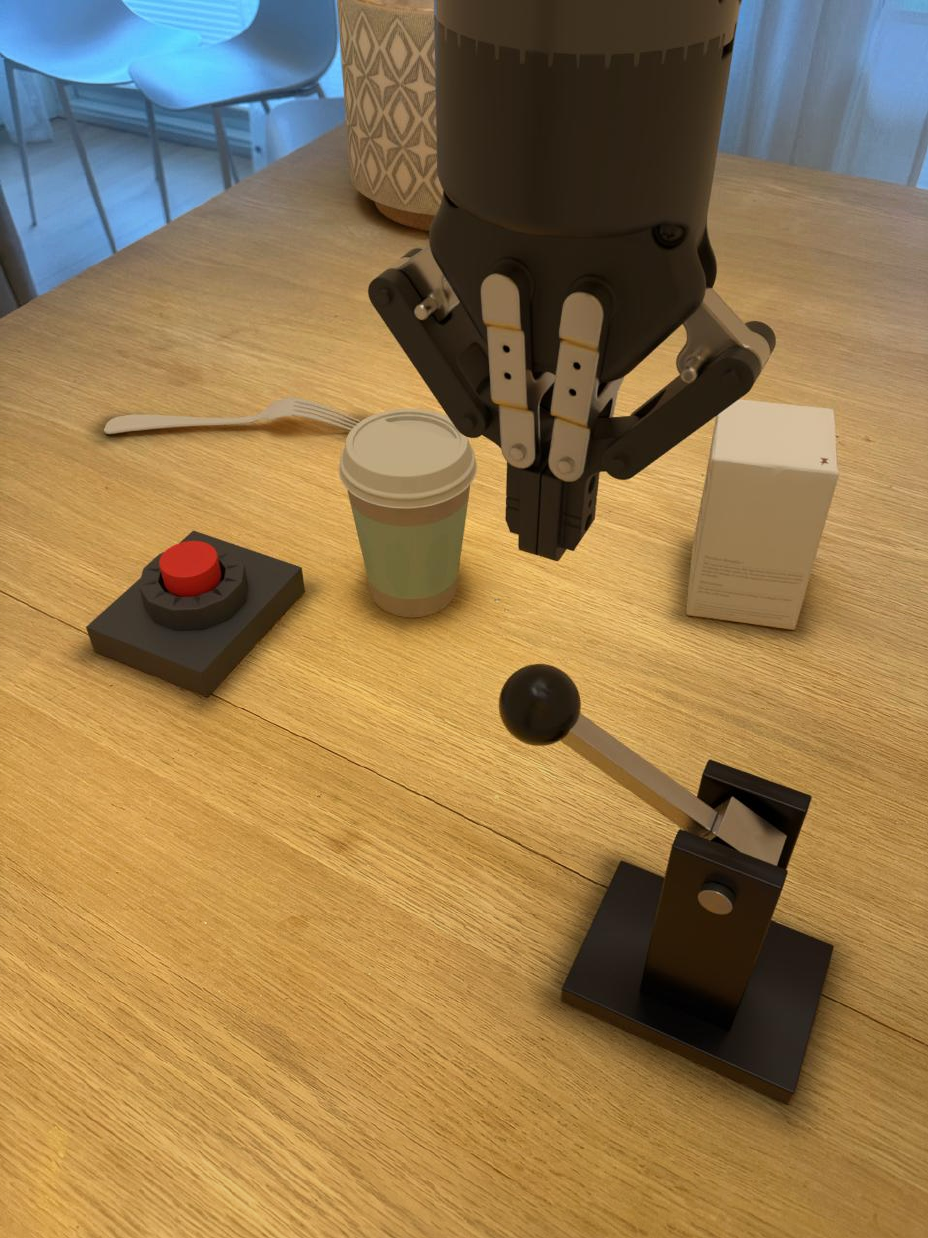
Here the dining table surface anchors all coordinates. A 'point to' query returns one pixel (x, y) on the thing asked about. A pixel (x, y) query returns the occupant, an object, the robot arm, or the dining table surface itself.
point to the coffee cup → (409, 505)
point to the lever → (625, 762)
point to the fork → (271, 412)
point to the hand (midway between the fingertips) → (549, 543)
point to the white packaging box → (762, 512)
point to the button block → (198, 618)
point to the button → (190, 569)
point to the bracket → (709, 949)
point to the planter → (391, 105)
